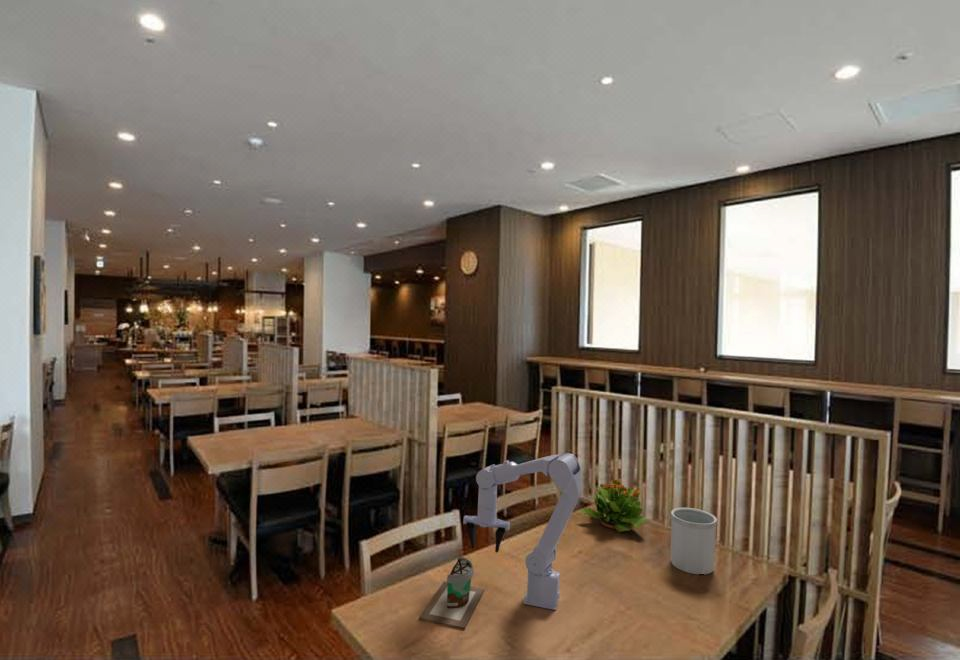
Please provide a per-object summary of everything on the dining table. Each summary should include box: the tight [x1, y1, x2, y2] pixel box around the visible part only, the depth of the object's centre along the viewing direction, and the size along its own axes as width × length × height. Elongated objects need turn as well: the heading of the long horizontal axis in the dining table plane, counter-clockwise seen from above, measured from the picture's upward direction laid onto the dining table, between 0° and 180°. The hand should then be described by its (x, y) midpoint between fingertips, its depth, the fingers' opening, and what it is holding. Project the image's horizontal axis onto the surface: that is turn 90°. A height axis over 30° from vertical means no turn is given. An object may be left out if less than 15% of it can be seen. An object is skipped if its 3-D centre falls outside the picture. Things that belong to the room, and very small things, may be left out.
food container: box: [446, 555, 475, 609], centre depth 144 cm, size 12×6×10 cm, turn 168°
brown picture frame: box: [418, 581, 485, 631], centre depth 143 cm, size 13×20×1 cm, turn 164°
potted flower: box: [580, 478, 647, 533], centre depth 207 cm, size 25×24×18 cm
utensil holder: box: [670, 507, 718, 575], centre depth 174 cm, size 15×15×18 cm
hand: (485, 549), depth 156 cm, fingers open, 7 cm apart
